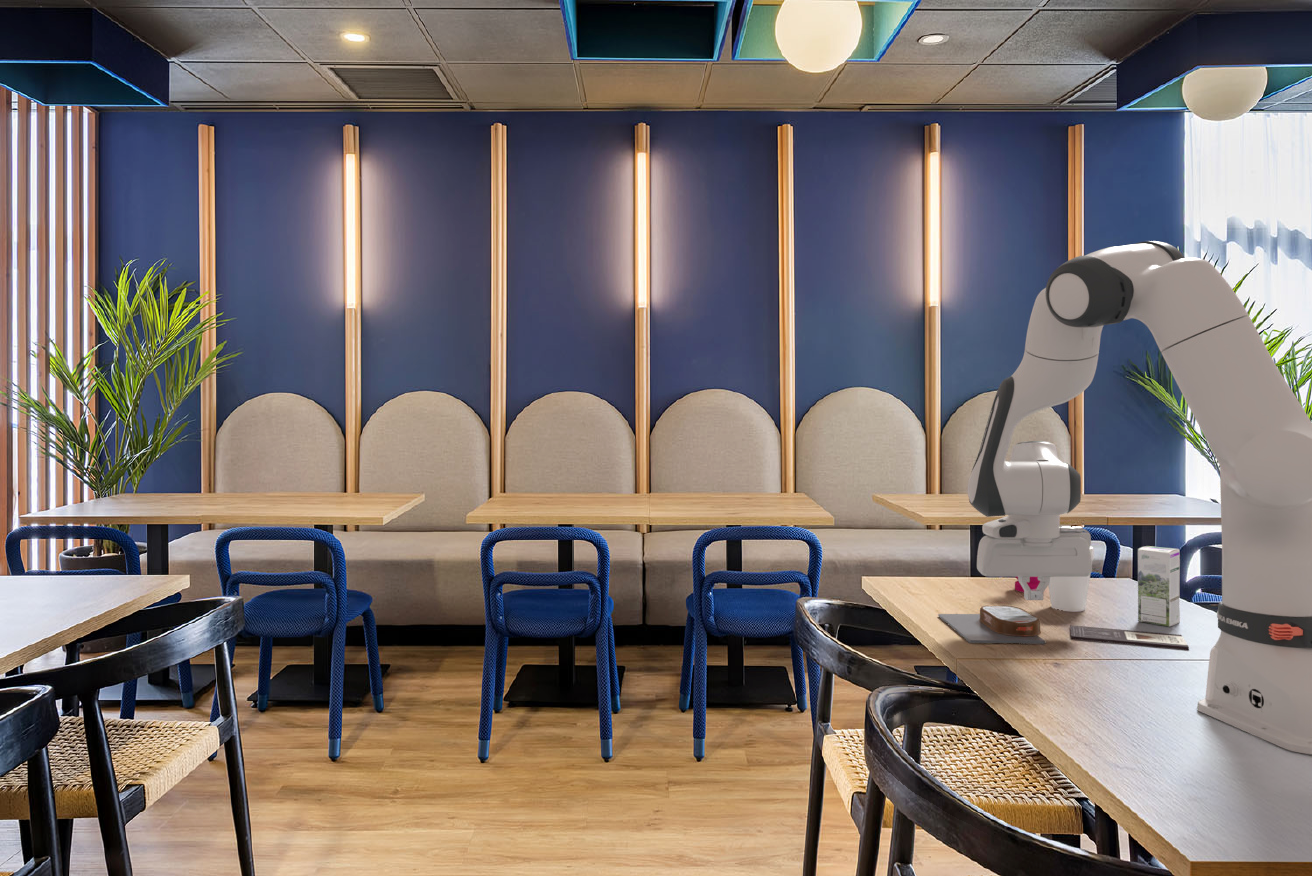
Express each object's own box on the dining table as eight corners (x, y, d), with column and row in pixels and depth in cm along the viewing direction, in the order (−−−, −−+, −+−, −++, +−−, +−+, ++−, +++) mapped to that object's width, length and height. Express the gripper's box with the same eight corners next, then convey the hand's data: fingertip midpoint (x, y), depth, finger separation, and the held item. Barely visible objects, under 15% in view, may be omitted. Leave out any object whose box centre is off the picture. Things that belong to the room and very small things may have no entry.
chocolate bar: (1070, 625, 156) (1181, 634, 149) (1070, 630, 156) (1181, 640, 149) (1071, 636, 148) (1188, 647, 141) (1071, 641, 148) (1188, 652, 141)
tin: (1015, 617, 163) (972, 619, 163) (1014, 601, 163) (971, 604, 163) (1049, 637, 148) (1001, 640, 148) (1048, 619, 148) (1000, 622, 148)
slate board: (1045, 644, 145) (1045, 640, 145) (970, 643, 146) (970, 640, 146) (1004, 617, 165) (1004, 614, 165) (938, 616, 166) (938, 614, 166)
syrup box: (1180, 622, 159) (1180, 548, 159) (1169, 627, 156) (1169, 551, 155) (1148, 617, 164) (1148, 544, 163) (1136, 622, 160) (1136, 548, 160)
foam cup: (1098, 614, 167) (1098, 550, 166) (1048, 612, 169) (1048, 549, 169) (1086, 604, 176) (1086, 543, 175) (1039, 602, 178) (1039, 542, 178)
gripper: (1082, 524, 157) (1082, 596, 158) (973, 524, 159) (974, 596, 159) (1098, 528, 151) (1098, 603, 151) (984, 529, 152) (984, 603, 153)
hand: (1033, 599), depth 155 cm, fingers closed
